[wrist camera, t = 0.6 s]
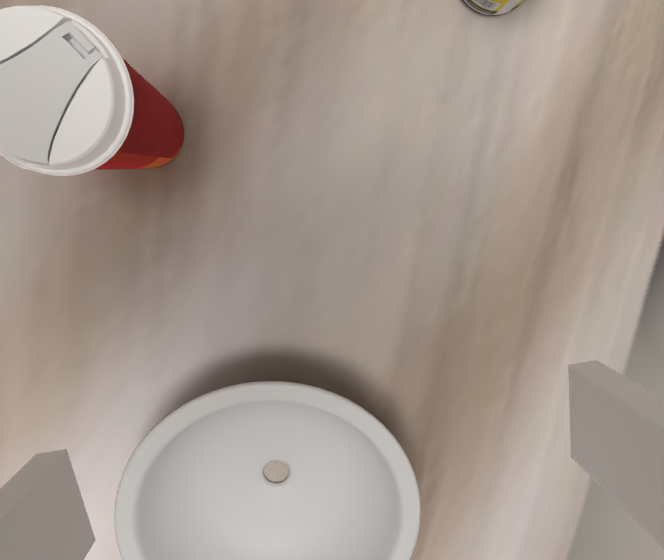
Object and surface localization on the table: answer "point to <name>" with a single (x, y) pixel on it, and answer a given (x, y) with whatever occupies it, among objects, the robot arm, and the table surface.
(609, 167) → the table surface
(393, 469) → the soup bowl
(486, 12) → the pill bottle
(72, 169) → the paper cup
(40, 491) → the robot arm
